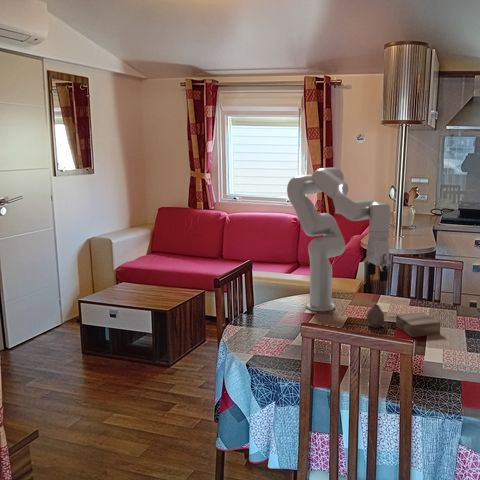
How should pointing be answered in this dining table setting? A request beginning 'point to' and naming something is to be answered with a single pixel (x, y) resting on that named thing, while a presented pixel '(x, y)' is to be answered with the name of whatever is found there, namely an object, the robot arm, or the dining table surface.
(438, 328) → the walnut block
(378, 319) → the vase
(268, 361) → the dining table surface
